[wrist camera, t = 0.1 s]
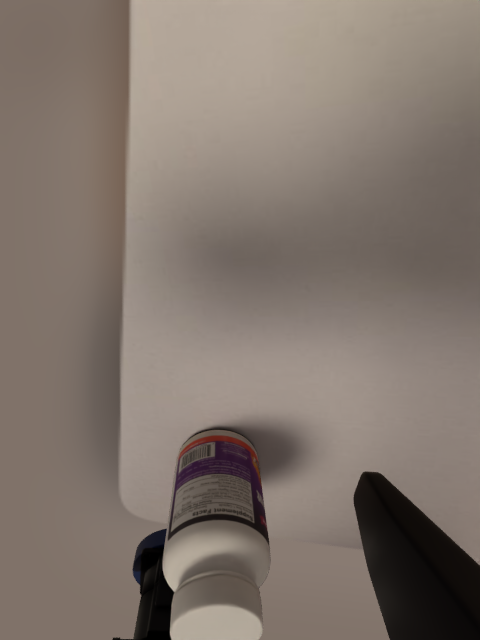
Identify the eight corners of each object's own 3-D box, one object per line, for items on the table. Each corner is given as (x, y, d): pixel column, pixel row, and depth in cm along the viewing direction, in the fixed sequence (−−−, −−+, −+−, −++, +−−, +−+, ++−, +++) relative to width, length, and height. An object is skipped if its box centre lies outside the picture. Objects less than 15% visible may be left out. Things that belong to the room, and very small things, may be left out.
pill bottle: (247, 491, 26) (260, 670, 17) (170, 481, 25) (143, 662, 16) (267, 433, 24) (295, 602, 15) (185, 420, 23) (162, 590, 14)
